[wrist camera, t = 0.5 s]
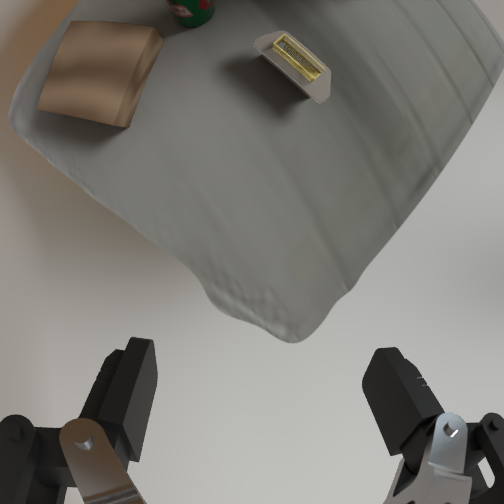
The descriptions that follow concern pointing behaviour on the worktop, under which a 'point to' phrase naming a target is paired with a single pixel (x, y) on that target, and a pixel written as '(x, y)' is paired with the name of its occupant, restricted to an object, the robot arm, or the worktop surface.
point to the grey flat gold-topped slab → (296, 64)
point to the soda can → (191, 11)
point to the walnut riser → (100, 71)
